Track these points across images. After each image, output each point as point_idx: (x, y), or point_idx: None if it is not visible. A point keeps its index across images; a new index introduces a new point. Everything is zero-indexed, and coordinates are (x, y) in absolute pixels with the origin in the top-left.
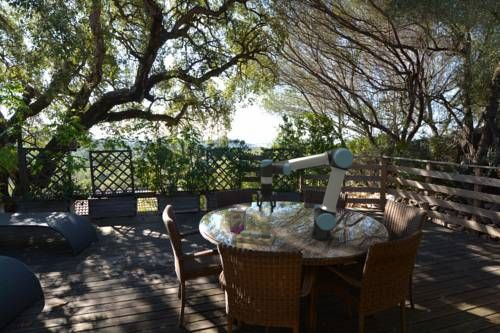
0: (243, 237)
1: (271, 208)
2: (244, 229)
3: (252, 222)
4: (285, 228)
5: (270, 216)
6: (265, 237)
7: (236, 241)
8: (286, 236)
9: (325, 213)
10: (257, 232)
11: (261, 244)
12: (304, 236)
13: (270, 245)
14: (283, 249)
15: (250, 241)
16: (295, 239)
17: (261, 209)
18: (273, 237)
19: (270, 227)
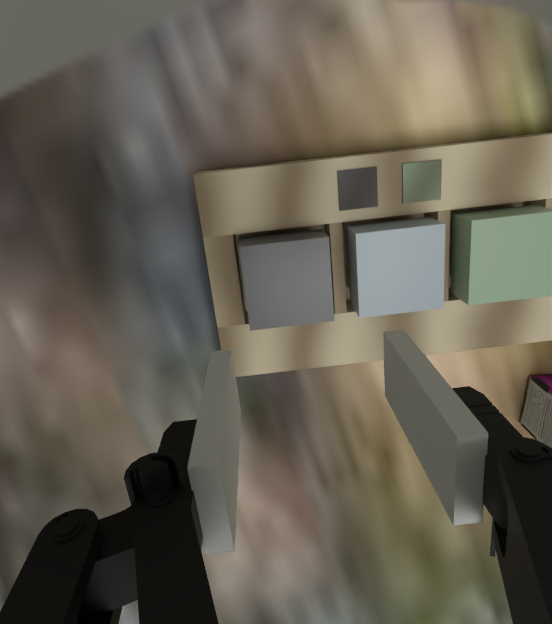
0: (502, 165)
1: (164, 453)
2: (544, 402)
3: None
4: (229, 598)
5: (217, 363)
6: (276, 237)
7: (549, 132)
8: (155, 444)
9: None
10: (386, 288)
11: (291, 161)
12: (20, 498)
13: (202, 171)
14: (46, 117)
15: (409, 148)
16: (57, 408)
17: (442, 407)
18: (214, 304)
19: (348, 577)
